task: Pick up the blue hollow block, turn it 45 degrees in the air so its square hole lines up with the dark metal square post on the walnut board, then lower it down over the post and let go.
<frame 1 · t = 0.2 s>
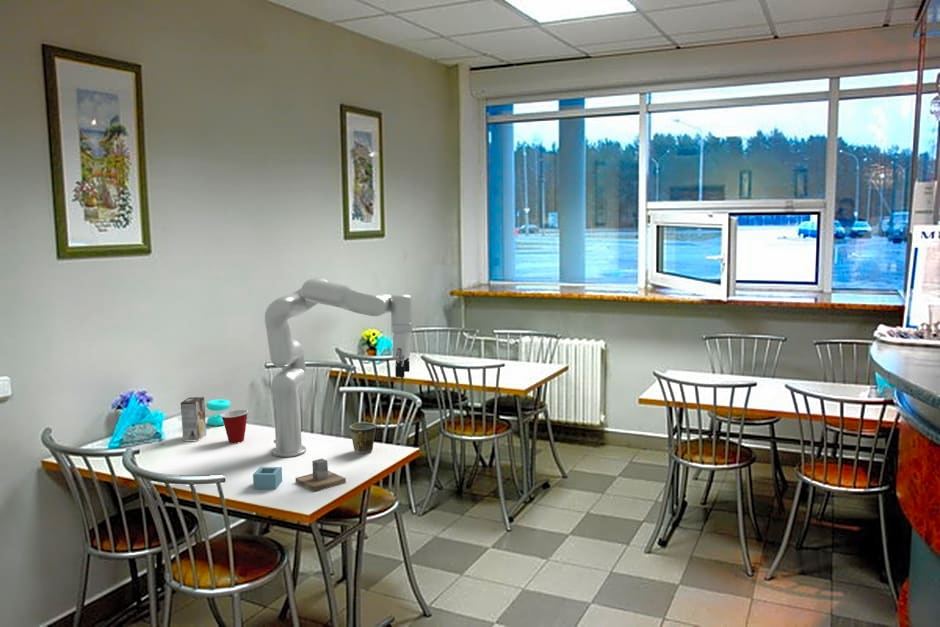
hand: (402, 374, 275), 31 cm above the table, tool pointing down, fingers open, 9 cm apart
blue hollow block: (268, 485, 250), on the table
donuts: (219, 424, 326), on the table
ceramic cup: (362, 453, 284), on the table
post base: (320, 482, 252), on the table
coffee box: (194, 438, 305), on the table
plastic cup: (235, 441, 300), on the table
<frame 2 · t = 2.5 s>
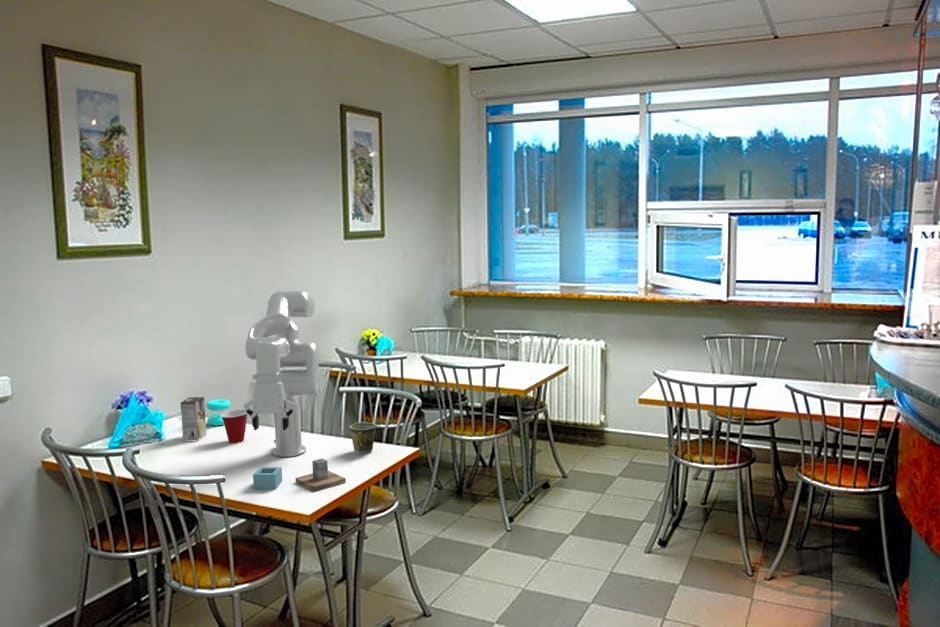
hand: (270, 429, 248), 19 cm above the table, tool pointing down, fingers open, 9 cm apart
nothing on the table moved.
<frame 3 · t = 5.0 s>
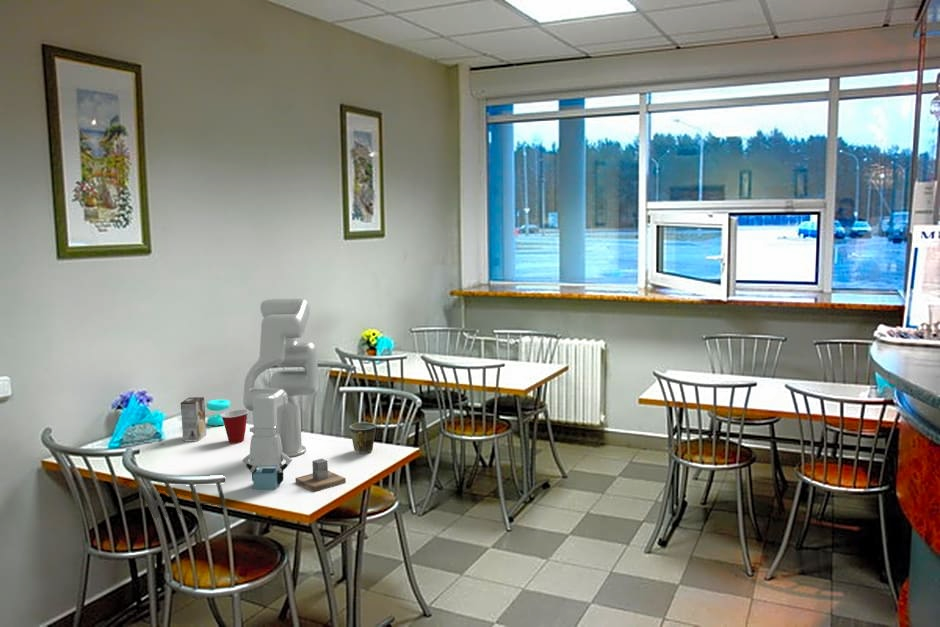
hand: (268, 482, 250), 1 cm above the table, tool pointing down, fingers closed on blue hollow block, 7 cm apart
blue hollow block: (268, 485, 250), on the table, touching gripper
everything else where it was.
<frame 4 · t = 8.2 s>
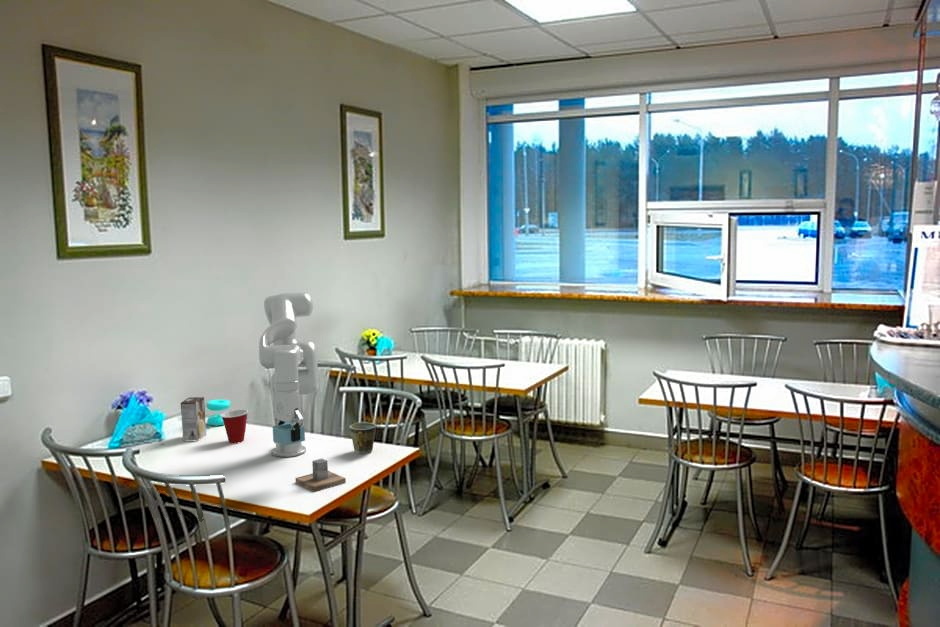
hand: (289, 438, 249), 16 cm above the table, tool pointing down, fingers closed on blue hollow block, 7 cm apart
blue hollow block: (289, 440, 249), point 15 cm above the table, touching gripper
everything else where it was.
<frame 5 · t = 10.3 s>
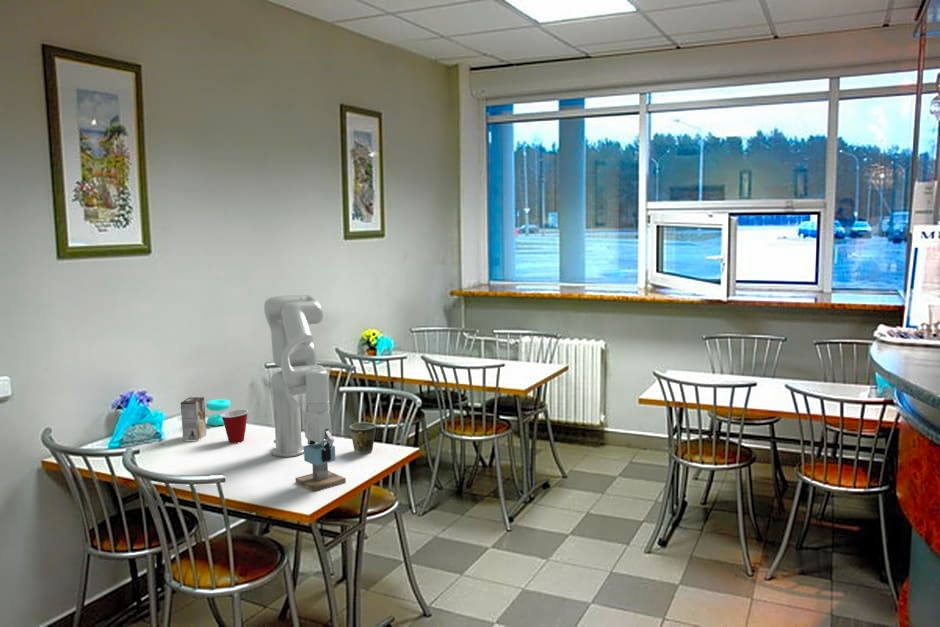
hand: (319, 457, 251), 9 cm above the table, tool pointing down, fingers closed on blue hollow block, 7 cm apart
blue hollow block: (319, 460, 251), point 8 cm above the table, touching gripper
everything else where it was.
when the fingers open (4 cm above the table, at t = 11.8 s): blue hollow block drops 1 cm, resting on post base.
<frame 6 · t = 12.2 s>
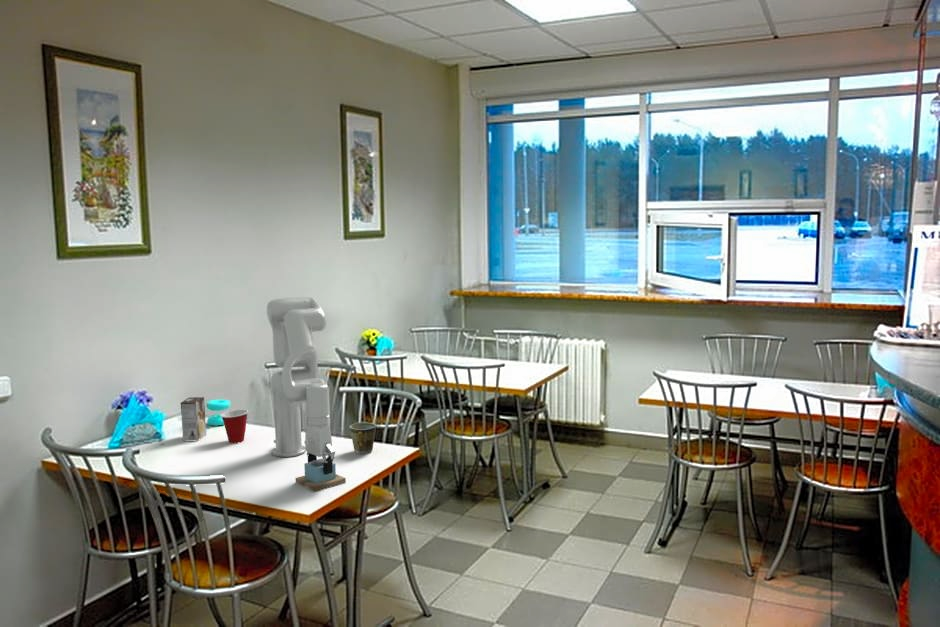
hand: (320, 470, 251), 4 cm above the table, tool pointing down, fingers open, 9 cm apart
blue hollow block: (320, 478, 252), point 1 cm above the table, touching post base
everything else where it was.
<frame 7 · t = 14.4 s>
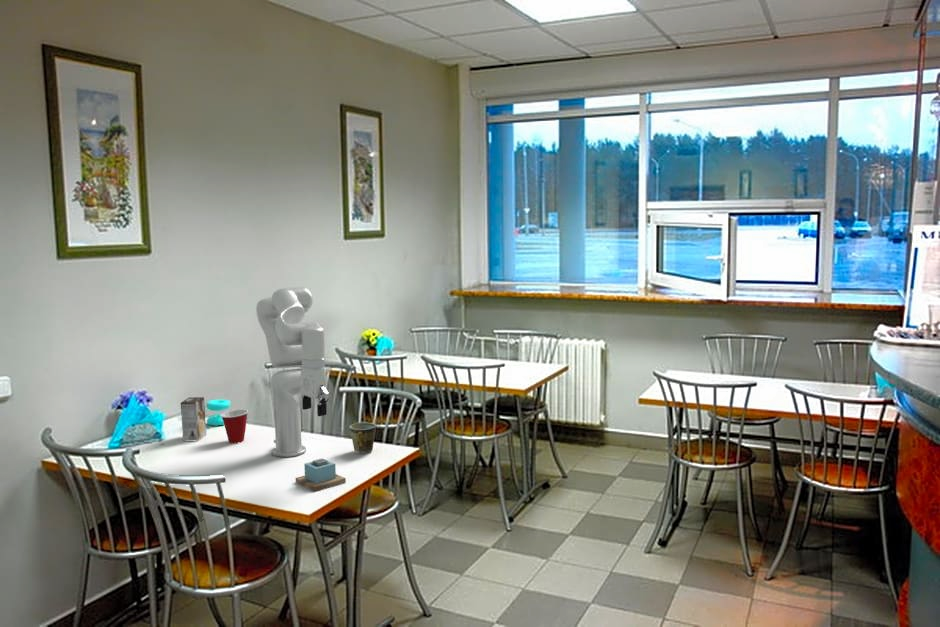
hand: (314, 412, 255), 23 cm above the table, tool pointing down, fingers open, 9 cm apart
nothing on the table moved.
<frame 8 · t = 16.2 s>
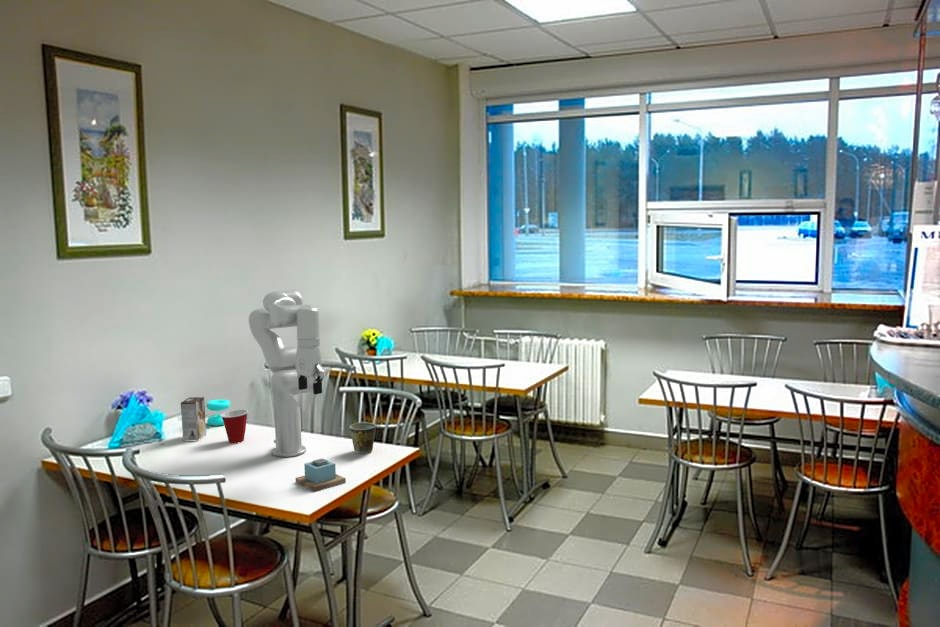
hand: (310, 391, 261), 28 cm above the table, tool pointing down, fingers open, 9 cm apart
nothing on the table moved.
at the end: blue hollow block 0.1 cm off-centre on the post base, point 1.5 cm above the post base's base; blue hollow block tilted 0°; the gripper is holding nothing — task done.
